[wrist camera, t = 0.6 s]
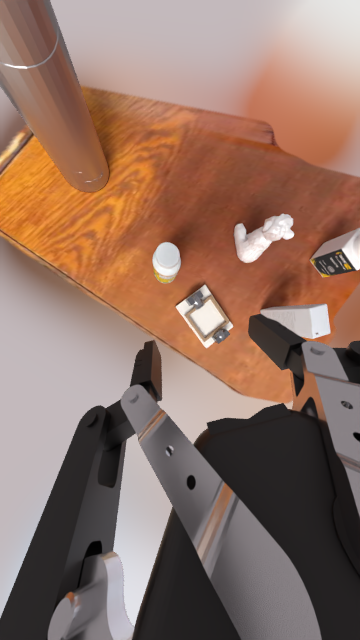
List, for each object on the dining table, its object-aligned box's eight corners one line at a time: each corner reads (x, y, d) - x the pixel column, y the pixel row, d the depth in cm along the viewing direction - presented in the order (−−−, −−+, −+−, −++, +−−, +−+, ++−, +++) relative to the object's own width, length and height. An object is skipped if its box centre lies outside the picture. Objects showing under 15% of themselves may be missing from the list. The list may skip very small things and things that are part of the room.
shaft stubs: (185, 300, 31) (187, 299, 29) (196, 291, 31) (200, 290, 29) (214, 341, 33) (219, 343, 31) (225, 332, 33) (230, 334, 31)
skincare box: (276, 327, 37) (331, 334, 25) (262, 330, 36) (313, 339, 24) (272, 305, 36) (328, 303, 24) (259, 309, 35) (309, 308, 24)
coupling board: (175, 306, 32) (176, 306, 30) (203, 285, 33) (206, 283, 31) (205, 347, 34) (207, 349, 32) (231, 326, 34) (235, 326, 33)
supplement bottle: (174, 285, 31) (181, 274, 22) (152, 281, 31) (149, 267, 21) (177, 263, 31) (185, 241, 22) (155, 258, 30) (153, 234, 21)
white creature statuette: (265, 238, 34) (320, 200, 23) (257, 270, 35) (307, 249, 23) (233, 226, 33) (275, 178, 21) (225, 259, 33) (262, 230, 21)
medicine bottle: (308, 260, 37) (378, 236, 25) (323, 242, 37) (399, 210, 26) (322, 278, 38) (395, 262, 26) (336, 260, 39) (415, 238, 27)
